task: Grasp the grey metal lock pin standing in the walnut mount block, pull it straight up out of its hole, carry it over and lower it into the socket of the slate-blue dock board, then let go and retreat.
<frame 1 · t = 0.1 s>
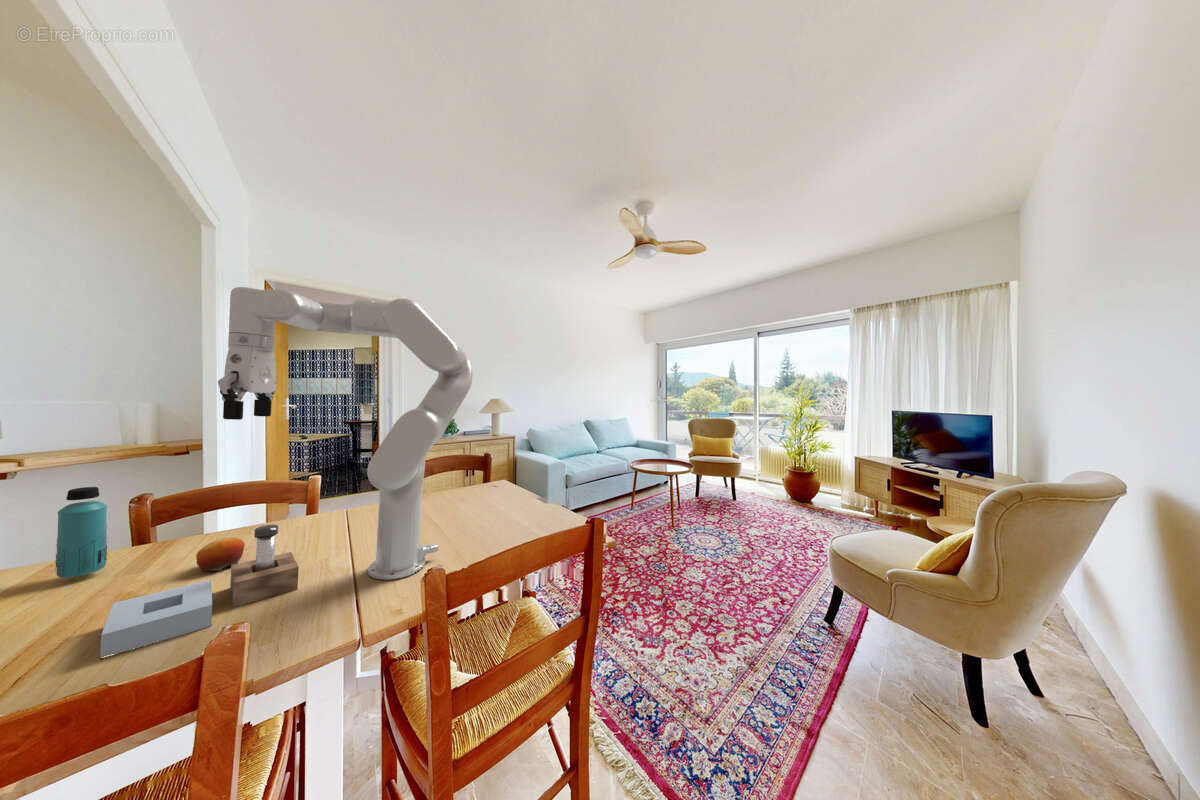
hand: (248, 417, 82), 37 cm above the table, tool pointing down, fingers open, 9 cm apart
fruit: (221, 567, 87), on the table
beverage bottle: (81, 578, 79), on the table
dock: (162, 625, 65), on the table
pin: (265, 558, 78), in the mount
mount: (264, 588, 79), on the table
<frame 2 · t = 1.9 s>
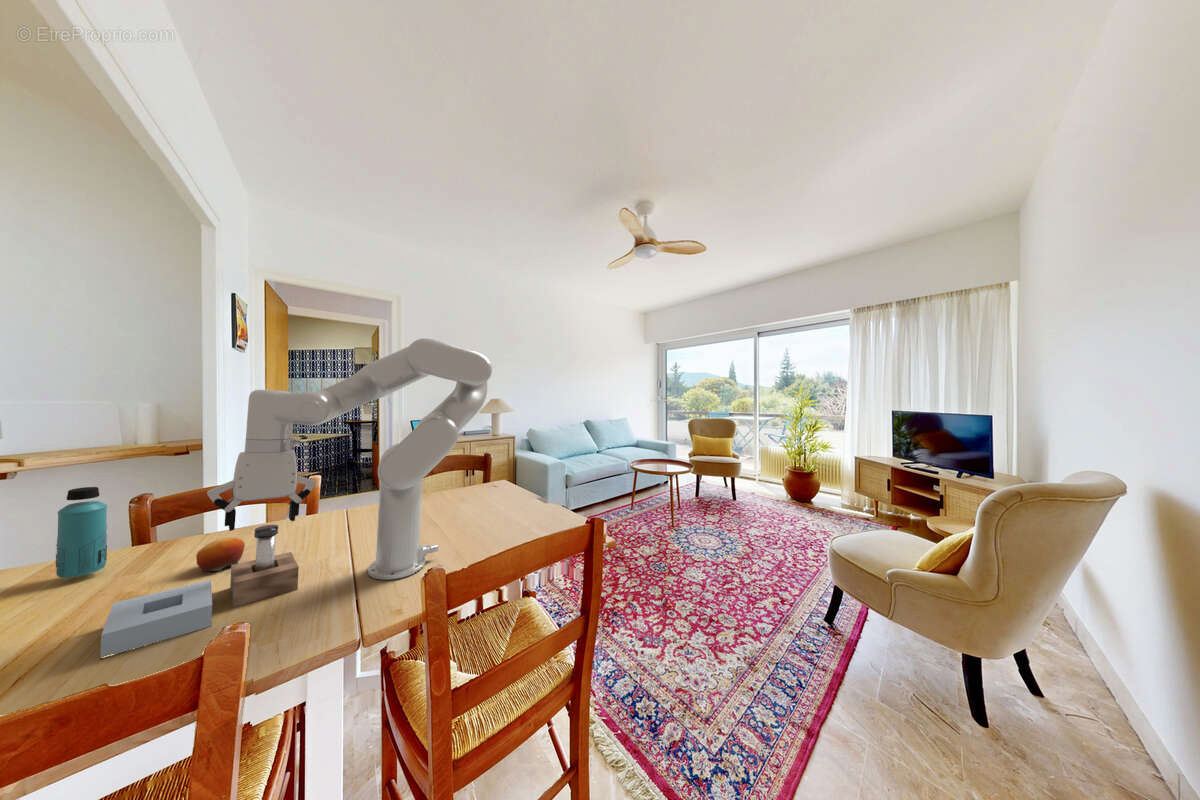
hand: (263, 523, 78), 14 cm above the table, tool pointing down, fingers open, 9 cm apart
nothing on the table moved.
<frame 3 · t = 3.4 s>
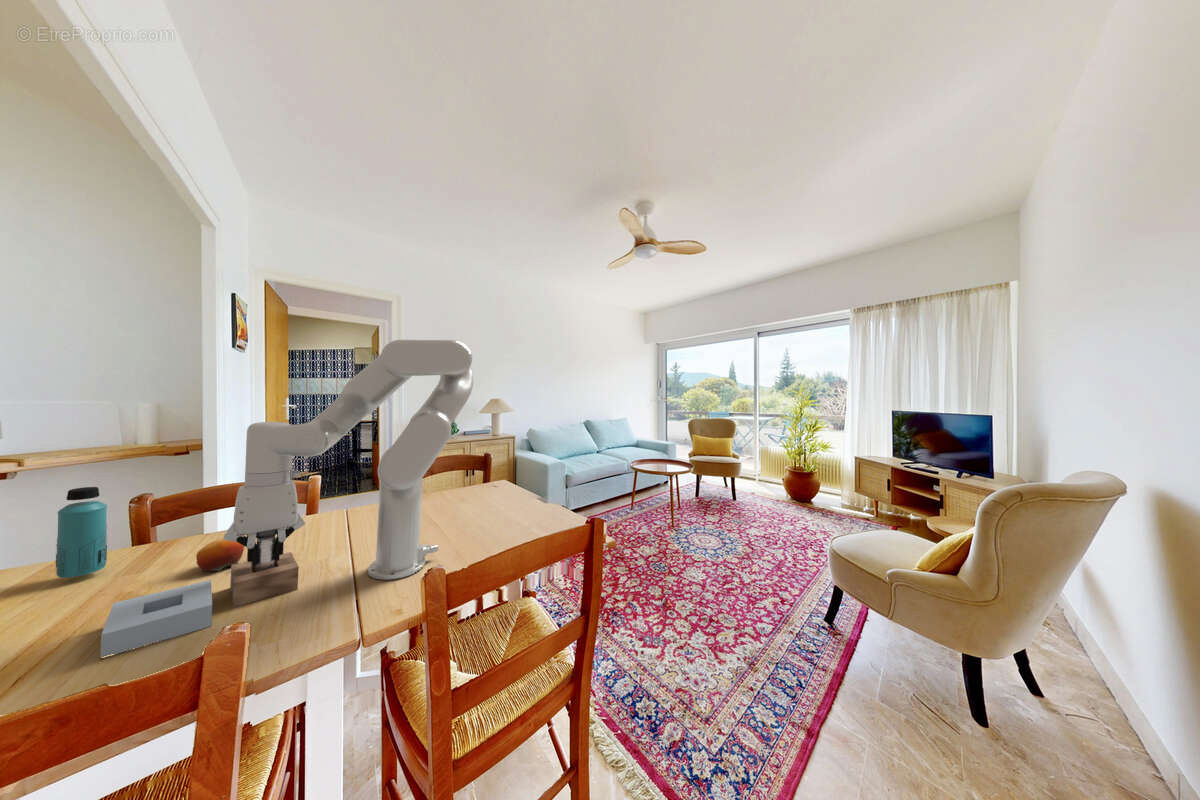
hand: (265, 560, 78), 6 cm above the table, tool pointing down, fingers closed on pin, 3 cm apart
pin: (265, 558, 78), in the mount, touching gripper
everything else where it was.
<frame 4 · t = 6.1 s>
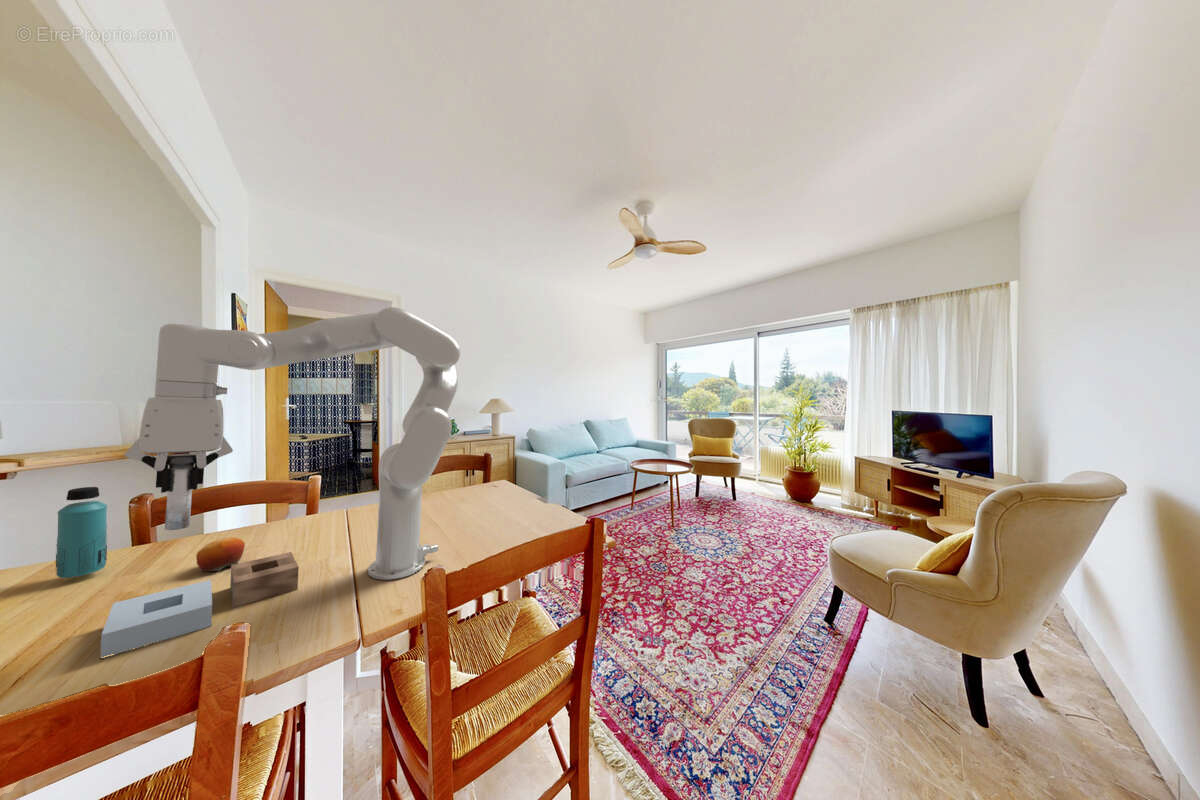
hand: (179, 488, 67), 25 cm above the table, tool pointing down, fingers closed on pin, 3 cm apart
pin: (180, 491, 67), point 24 cm above the table, touching gripper
everything else where it was.
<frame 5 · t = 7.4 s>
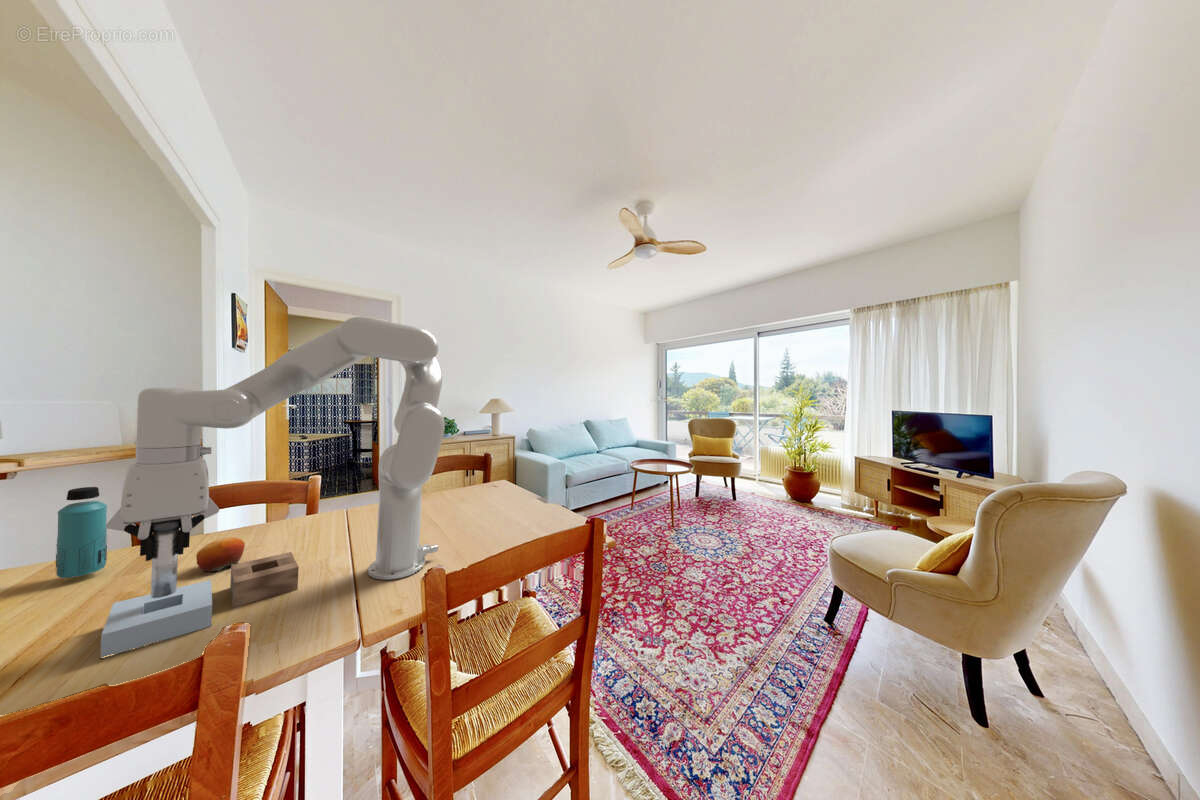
hand: (165, 554, 65), 13 cm above the table, tool pointing down, fingers closed on pin, 3 cm apart
pin: (165, 557, 65), point 13 cm above the table, touching gripper
everything else where it was.
when the fingers open (8 cm above the table, at t = 8.7 s): pin stays where it is, resting in dock.
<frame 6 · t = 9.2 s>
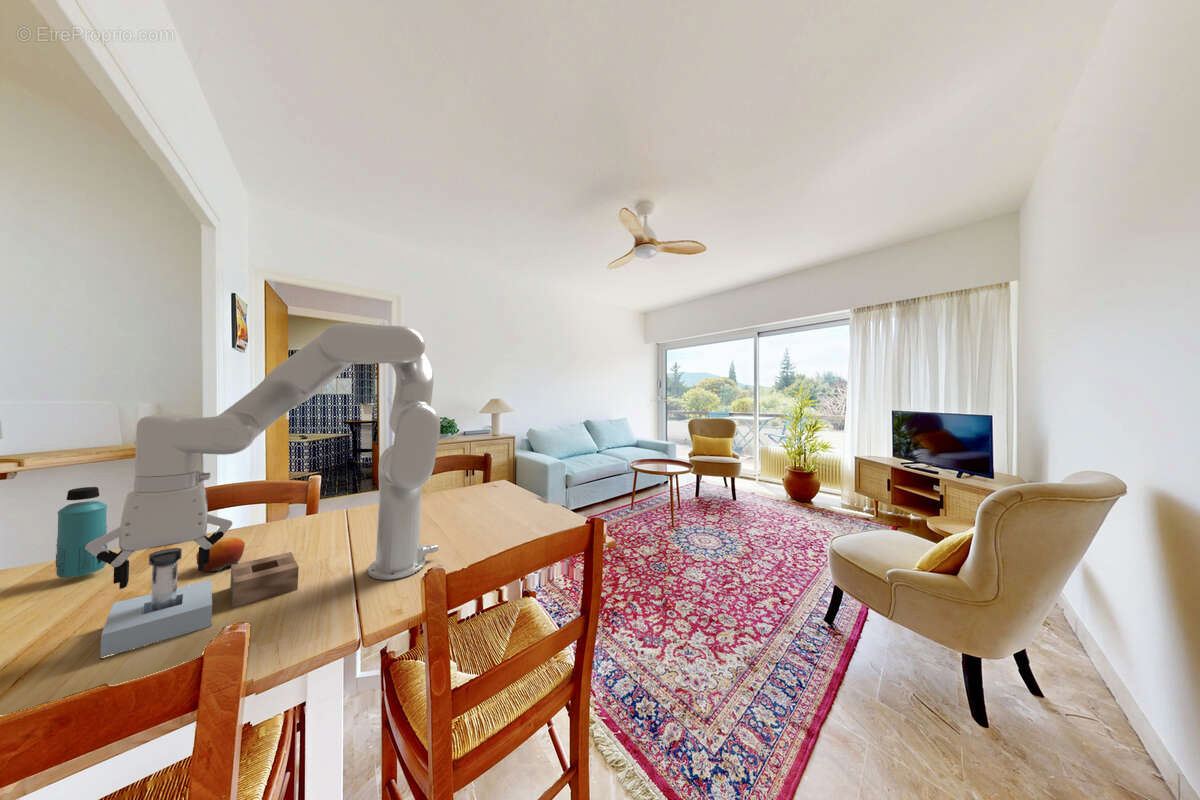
hand: (164, 576, 65), 9 cm above the table, tool pointing down, fingers open, 8 cm apart
pin: (164, 588, 65), in the dock
everything else where it was.
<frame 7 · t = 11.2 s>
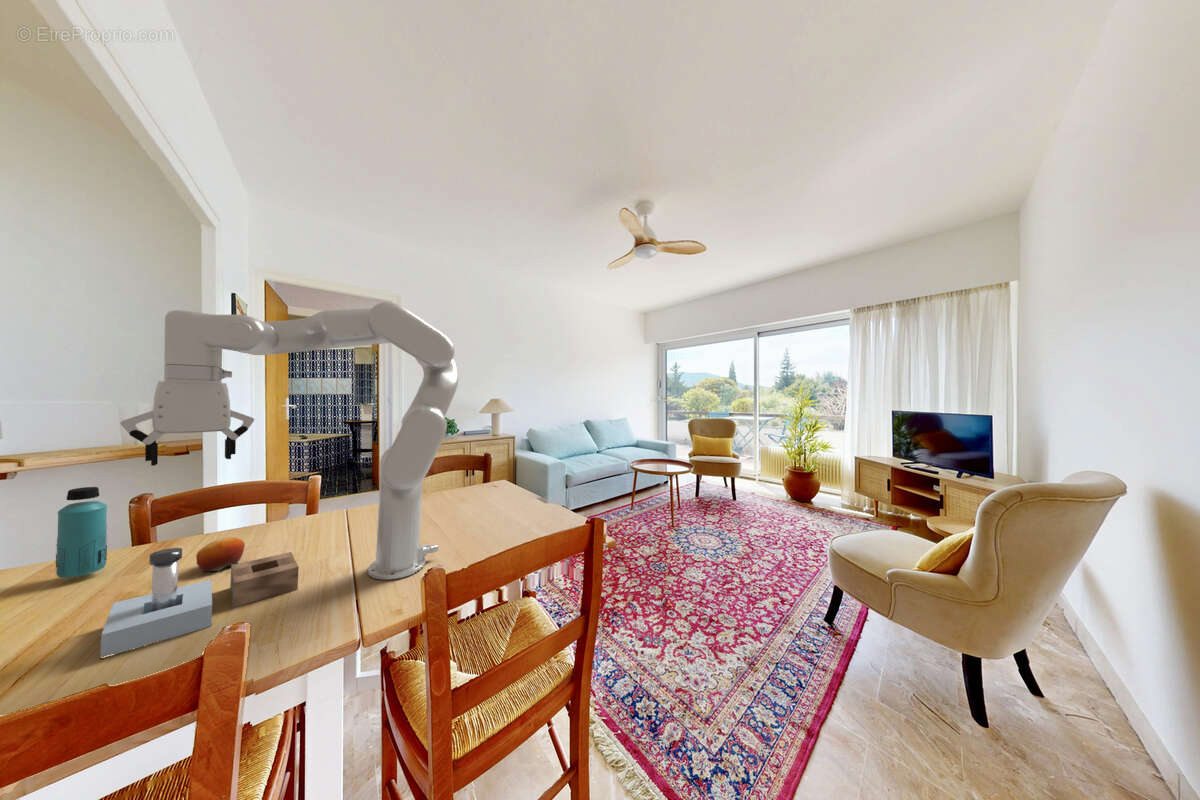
hand: (193, 461, 71), 29 cm above the table, tool pointing down, fingers open, 9 cm apart
nothing on the table moved.
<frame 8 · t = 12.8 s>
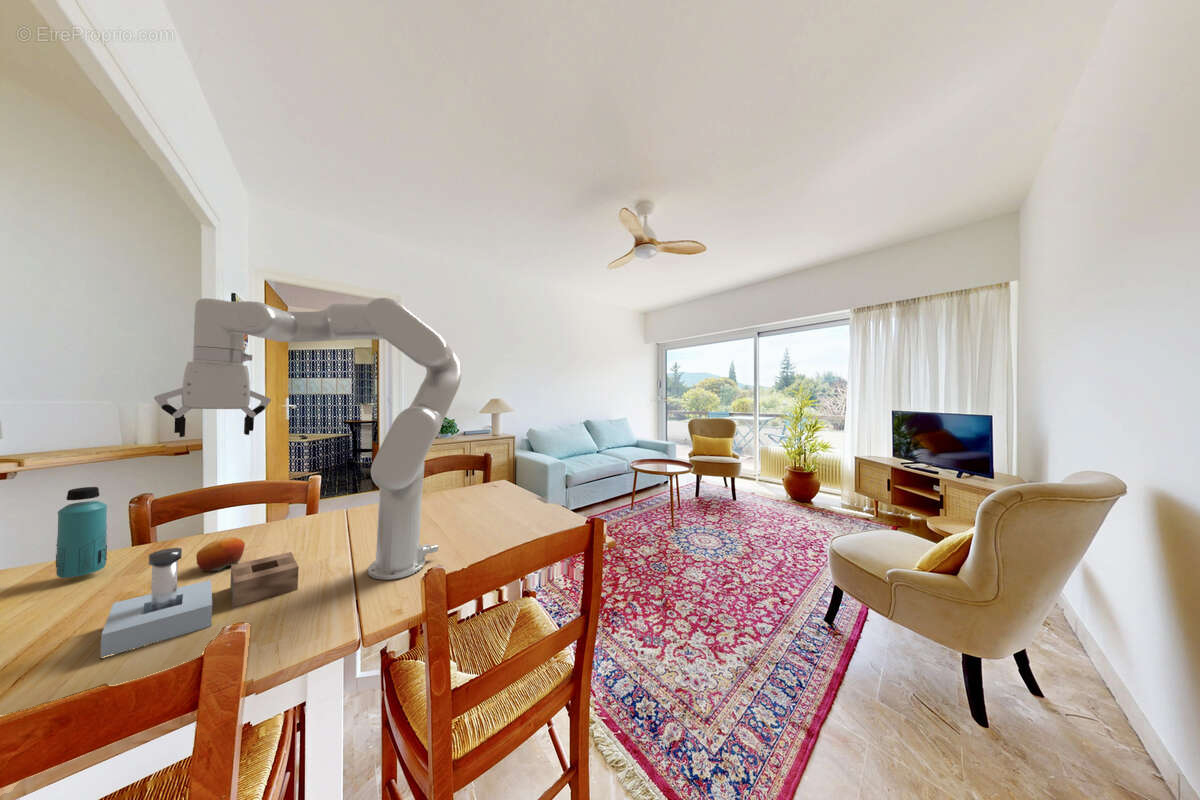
hand: (215, 435, 78), 33 cm above the table, tool pointing down, fingers open, 9 cm apart
nothing on the table moved.
at the end: pin 0.1 cm off-centre on the dock, point 6.7 cm above the dock's base; pin tilted 0°; the gripper is holding nothing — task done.
